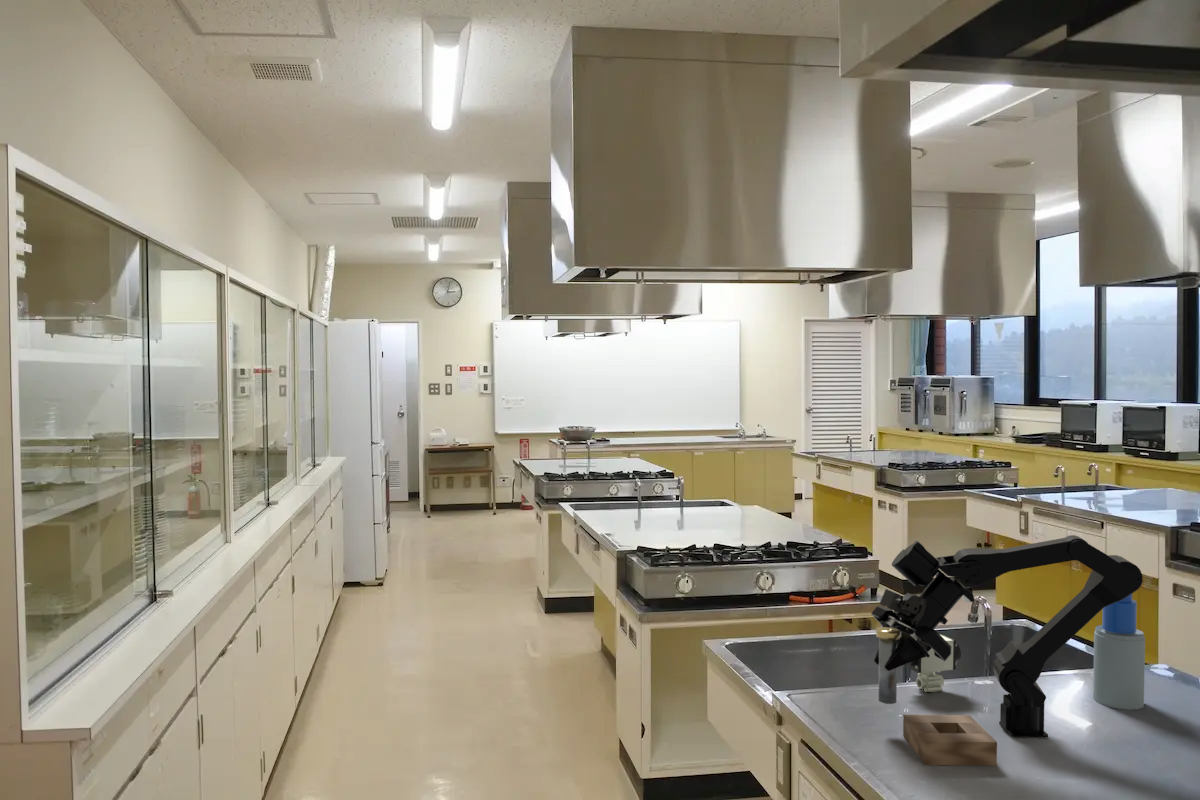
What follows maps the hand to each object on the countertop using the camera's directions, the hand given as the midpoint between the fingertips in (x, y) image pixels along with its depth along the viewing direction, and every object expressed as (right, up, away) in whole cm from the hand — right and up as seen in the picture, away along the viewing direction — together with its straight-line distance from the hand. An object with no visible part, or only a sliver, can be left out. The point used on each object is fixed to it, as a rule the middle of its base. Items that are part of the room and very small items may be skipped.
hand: (880, 666), depth 167 cm
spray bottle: (+53, -12, +15) cm, 56 cm away
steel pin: (+1, -7, 0) cm, 7 cm away
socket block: (+9, -12, -9) cm, 18 cm away
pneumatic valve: (+17, -12, +22) cm, 30 cm away
